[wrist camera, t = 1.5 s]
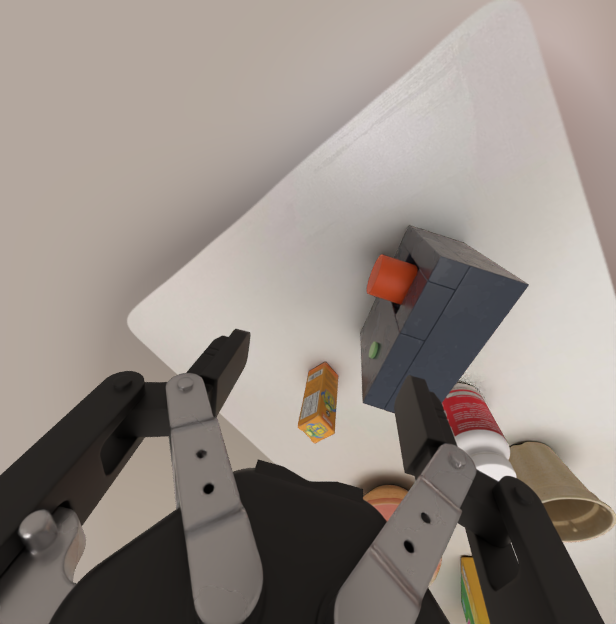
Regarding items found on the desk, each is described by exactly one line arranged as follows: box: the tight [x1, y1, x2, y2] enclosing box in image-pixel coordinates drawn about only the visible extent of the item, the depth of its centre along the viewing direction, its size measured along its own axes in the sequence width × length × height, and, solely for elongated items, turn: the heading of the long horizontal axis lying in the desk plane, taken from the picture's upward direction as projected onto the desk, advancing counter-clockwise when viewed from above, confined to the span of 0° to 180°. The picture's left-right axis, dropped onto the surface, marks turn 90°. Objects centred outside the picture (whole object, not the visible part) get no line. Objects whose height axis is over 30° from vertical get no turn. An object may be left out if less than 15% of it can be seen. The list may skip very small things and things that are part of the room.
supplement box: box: [298, 362, 338, 443], centre depth 34 cm, size 3×3×10 cm
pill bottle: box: [442, 383, 517, 481], centre depth 32 cm, size 6×6×11 cm
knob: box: [367, 255, 418, 304], centre depth 24 cm, size 4×3×4 cm
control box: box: [360, 225, 528, 413], centre depth 26 cm, size 14×6×12 cm, turn 164°
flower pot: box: [509, 442, 616, 542], centre depth 36 cm, size 9×9×9 cm
